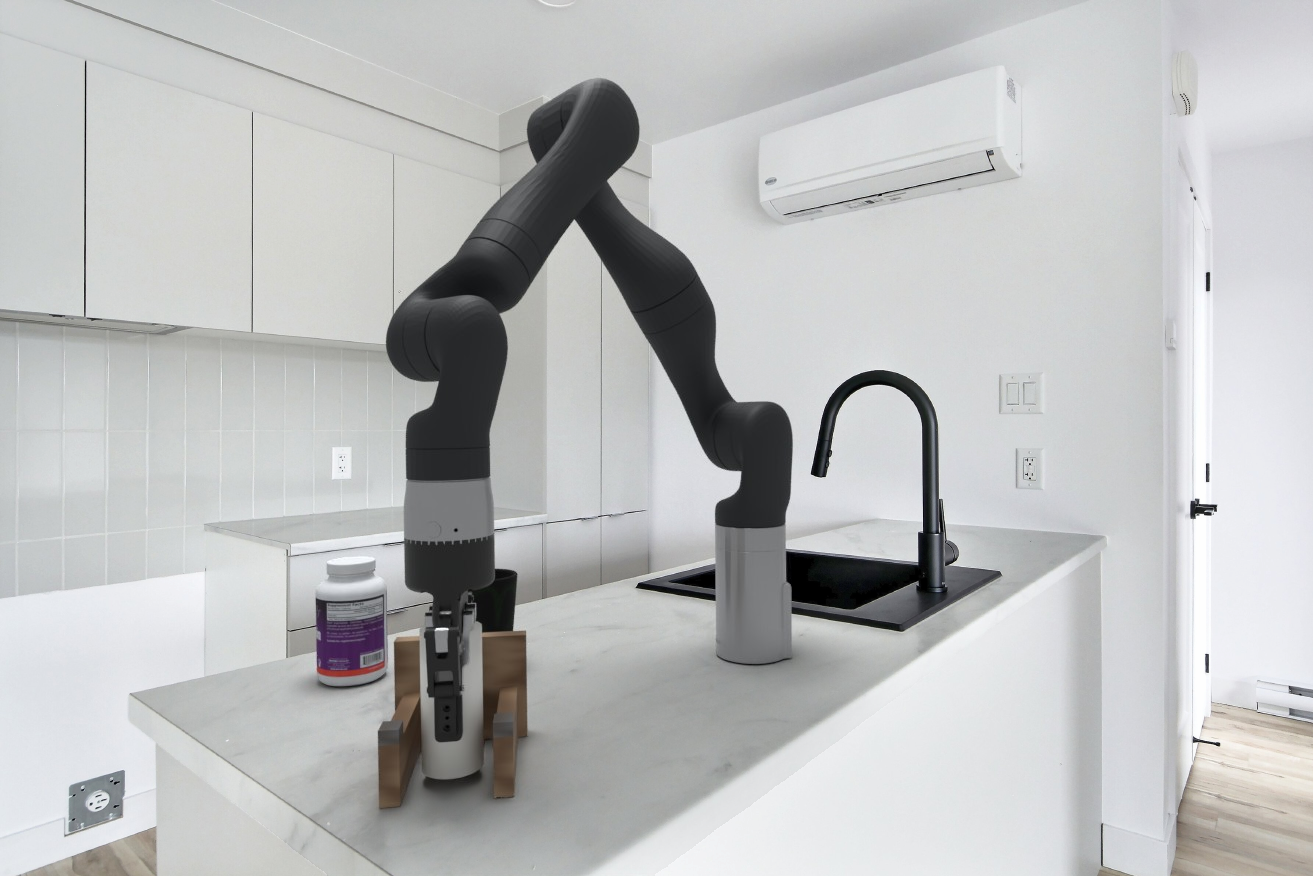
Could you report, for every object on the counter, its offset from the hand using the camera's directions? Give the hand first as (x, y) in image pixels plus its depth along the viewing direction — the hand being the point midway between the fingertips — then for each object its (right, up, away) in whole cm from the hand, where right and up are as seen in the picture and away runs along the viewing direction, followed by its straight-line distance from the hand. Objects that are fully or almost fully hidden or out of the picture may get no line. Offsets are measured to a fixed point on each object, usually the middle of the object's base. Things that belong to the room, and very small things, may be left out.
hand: (453, 725), depth 65 cm
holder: (0, -5, +3) cm, 5 cm away
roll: (0, -3, 0) cm, 3 cm away
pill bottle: (-19, -5, +26) cm, 33 cm away
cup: (-4, -4, +29) cm, 29 cm away
